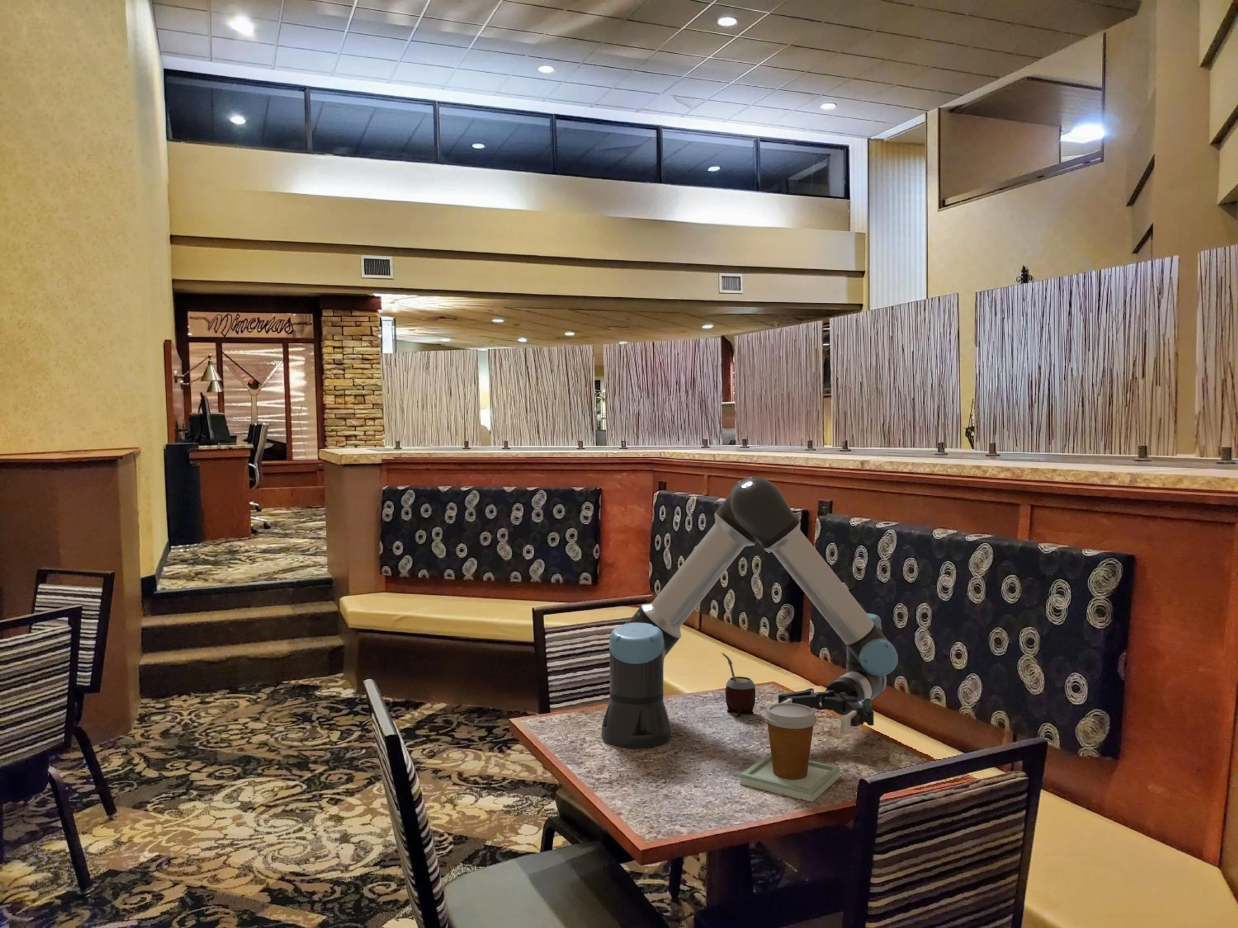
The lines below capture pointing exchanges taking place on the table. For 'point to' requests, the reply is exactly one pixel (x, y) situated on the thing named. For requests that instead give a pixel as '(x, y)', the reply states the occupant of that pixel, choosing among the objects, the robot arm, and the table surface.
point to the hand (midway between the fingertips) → (808, 719)
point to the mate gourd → (739, 693)
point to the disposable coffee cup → (790, 738)
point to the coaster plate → (803, 788)
